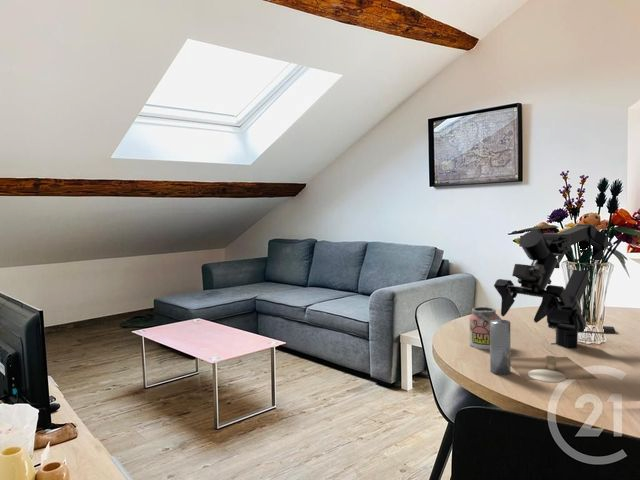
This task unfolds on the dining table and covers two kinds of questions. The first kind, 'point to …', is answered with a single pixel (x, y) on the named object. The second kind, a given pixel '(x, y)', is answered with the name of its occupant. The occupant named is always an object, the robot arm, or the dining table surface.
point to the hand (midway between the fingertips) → (518, 318)
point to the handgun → (606, 328)
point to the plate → (538, 371)
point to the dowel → (550, 362)
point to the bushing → (500, 347)
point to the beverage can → (481, 326)
